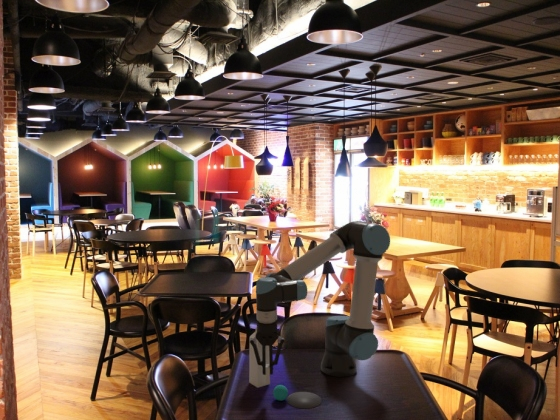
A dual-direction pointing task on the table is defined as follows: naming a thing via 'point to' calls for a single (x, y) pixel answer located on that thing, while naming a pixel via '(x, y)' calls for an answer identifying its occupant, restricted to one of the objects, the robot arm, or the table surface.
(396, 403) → the table surface
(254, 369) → the milk
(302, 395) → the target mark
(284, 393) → the ball
